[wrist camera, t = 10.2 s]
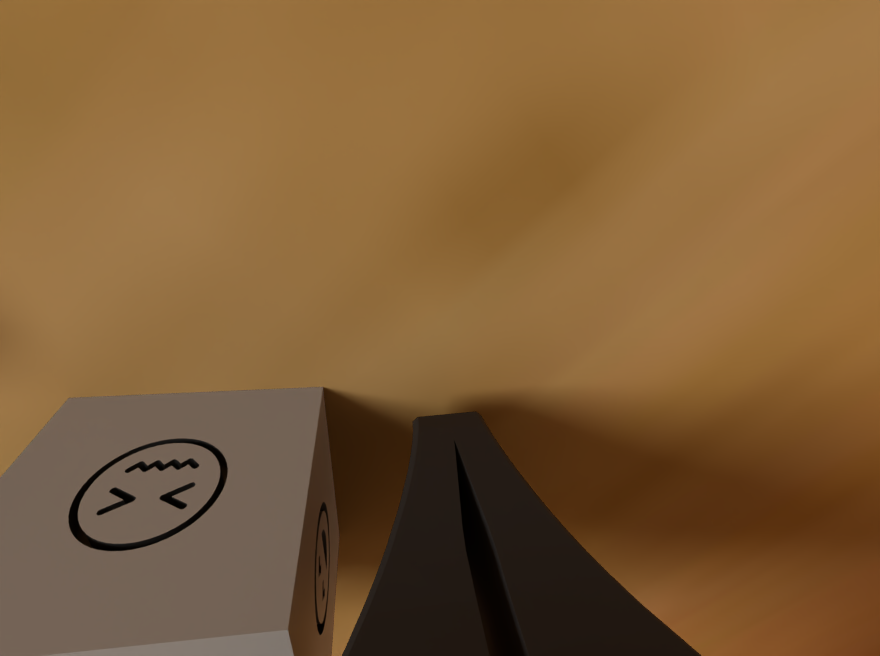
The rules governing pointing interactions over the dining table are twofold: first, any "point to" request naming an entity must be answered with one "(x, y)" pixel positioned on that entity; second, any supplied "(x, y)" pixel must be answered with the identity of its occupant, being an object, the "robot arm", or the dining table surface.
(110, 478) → the dice cube
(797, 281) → the dining table surface
